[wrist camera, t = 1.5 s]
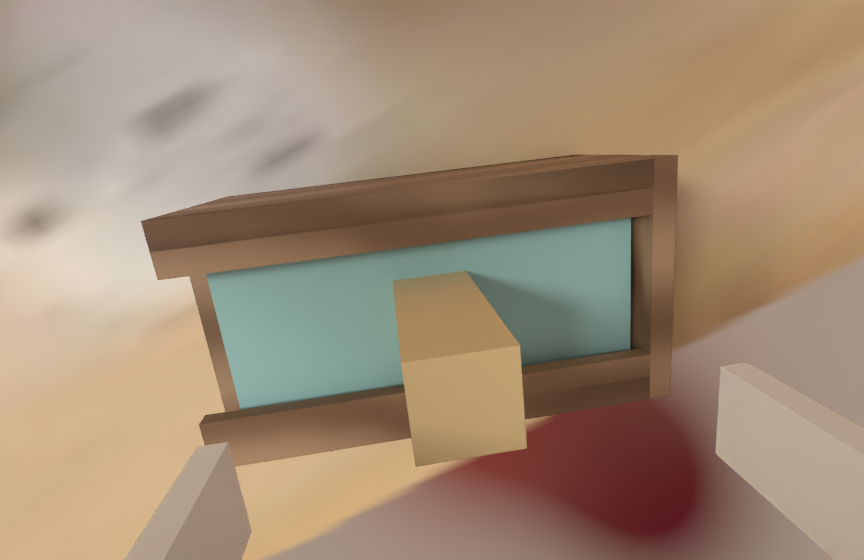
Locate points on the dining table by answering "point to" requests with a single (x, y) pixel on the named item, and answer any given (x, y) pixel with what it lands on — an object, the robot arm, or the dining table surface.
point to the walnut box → (420, 225)
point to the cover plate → (358, 313)
